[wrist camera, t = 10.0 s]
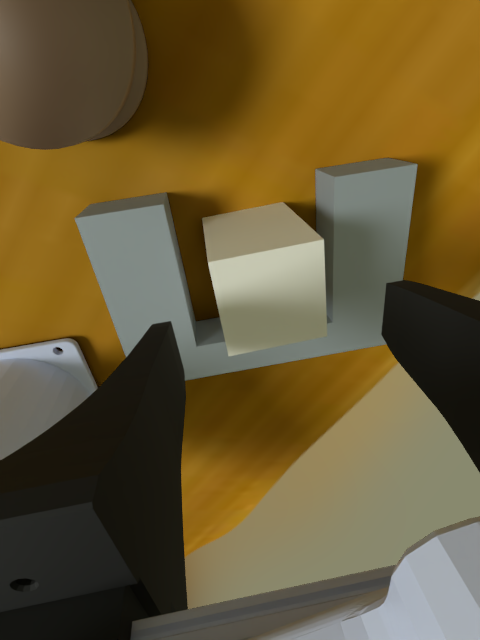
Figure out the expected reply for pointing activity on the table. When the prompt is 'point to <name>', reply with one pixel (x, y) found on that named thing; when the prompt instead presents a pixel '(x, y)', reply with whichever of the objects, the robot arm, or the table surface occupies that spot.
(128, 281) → the notched board
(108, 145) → the table surface
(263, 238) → the block
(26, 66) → the brown knob
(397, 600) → the robot arm
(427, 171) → the table surface
